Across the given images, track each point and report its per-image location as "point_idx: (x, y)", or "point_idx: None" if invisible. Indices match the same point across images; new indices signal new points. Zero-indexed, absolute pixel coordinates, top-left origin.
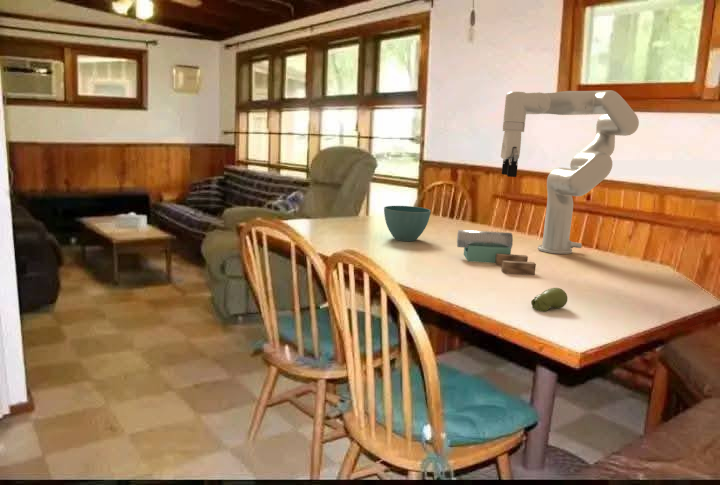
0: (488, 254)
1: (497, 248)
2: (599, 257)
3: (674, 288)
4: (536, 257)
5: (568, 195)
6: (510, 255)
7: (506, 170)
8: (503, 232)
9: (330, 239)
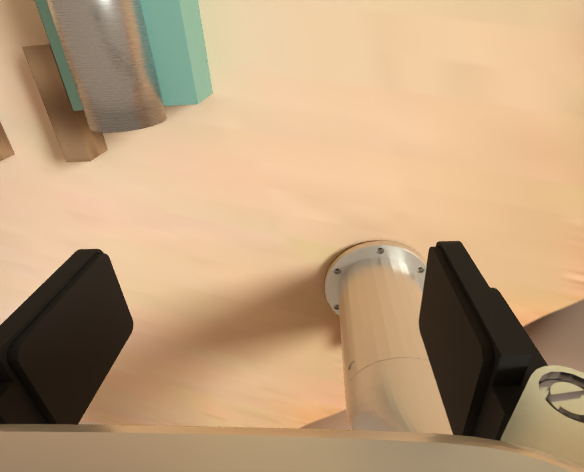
0: None
1: (55, 52)
2: (319, 363)
3: None
4: (252, 210)
5: None
6: (48, 101)
7: (437, 319)
8: (104, 94)
9: None
